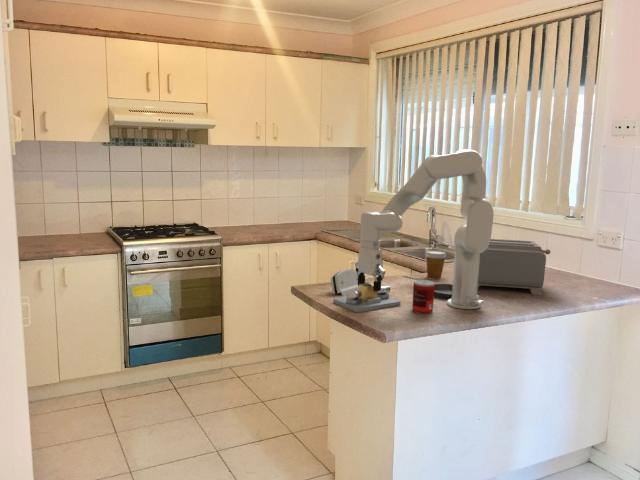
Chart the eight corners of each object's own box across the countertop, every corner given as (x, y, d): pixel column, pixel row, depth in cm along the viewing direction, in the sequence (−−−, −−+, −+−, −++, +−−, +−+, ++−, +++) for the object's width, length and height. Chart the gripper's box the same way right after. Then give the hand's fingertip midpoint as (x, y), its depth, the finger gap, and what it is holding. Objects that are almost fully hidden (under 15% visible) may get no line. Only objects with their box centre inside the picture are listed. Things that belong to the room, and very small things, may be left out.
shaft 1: (353, 304, 217) (353, 288, 216) (362, 306, 215) (363, 290, 214) (344, 307, 212) (345, 291, 211) (354, 309, 210) (355, 294, 209)
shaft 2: (383, 299, 226) (384, 284, 225) (391, 301, 222) (391, 286, 221) (371, 301, 222) (372, 286, 221) (378, 303, 219) (379, 288, 218)
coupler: (366, 302, 215) (367, 285, 214) (358, 299, 219) (359, 282, 218) (376, 300, 217) (377, 284, 216) (368, 297, 222) (369, 281, 220)
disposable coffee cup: (437, 274, 273) (438, 250, 271) (448, 279, 264) (450, 253, 262) (420, 275, 270) (421, 250, 268) (430, 280, 261) (432, 254, 259)
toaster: (551, 295, 240) (556, 248, 237) (467, 289, 246) (470, 243, 242) (541, 285, 259) (546, 241, 256) (463, 279, 265) (466, 236, 261)
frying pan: (455, 303, 224) (456, 294, 223) (390, 287, 246) (390, 279, 245) (478, 295, 237) (478, 287, 236) (414, 281, 258) (414, 273, 258)
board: (375, 295, 230) (375, 288, 230) (400, 305, 218) (400, 297, 218) (333, 302, 219) (333, 294, 218) (356, 312, 206) (357, 304, 206)
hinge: (342, 296, 228) (336, 272, 229) (333, 297, 231) (327, 274, 232) (365, 288, 241) (360, 266, 242) (357, 290, 244) (351, 267, 245)
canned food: (430, 307, 216) (432, 279, 214) (435, 314, 208) (437, 285, 206) (410, 307, 215) (411, 279, 214) (414, 313, 208) (416, 284, 206)
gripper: (392, 247, 209) (391, 292, 212) (363, 240, 224) (362, 282, 227) (377, 249, 205) (375, 294, 208) (348, 241, 220) (347, 284, 222)
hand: (369, 288), depth 217 cm, fingers open, 9 cm apart
